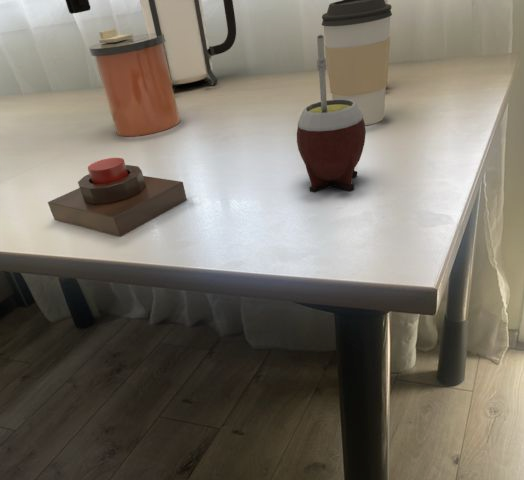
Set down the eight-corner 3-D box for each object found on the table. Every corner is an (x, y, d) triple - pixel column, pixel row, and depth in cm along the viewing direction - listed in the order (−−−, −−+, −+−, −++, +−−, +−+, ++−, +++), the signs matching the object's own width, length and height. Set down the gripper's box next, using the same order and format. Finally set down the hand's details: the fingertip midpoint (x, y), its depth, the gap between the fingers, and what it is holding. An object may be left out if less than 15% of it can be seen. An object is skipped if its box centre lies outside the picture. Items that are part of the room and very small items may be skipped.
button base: (54, 220, 61) (41, 186, 59) (120, 188, 67) (110, 156, 65) (120, 237, 55) (108, 200, 52) (187, 200, 60) (179, 165, 58)
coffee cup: (391, 125, 72) (392, -6, 63) (325, 132, 74) (317, 5, 65) (390, 108, 79) (391, -12, 70) (330, 114, 81) (323, -2, 72)
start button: (85, 184, 59) (80, 168, 57) (113, 171, 61) (108, 156, 60) (107, 188, 56) (102, 171, 55) (136, 175, 59) (131, 159, 58)
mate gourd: (338, 167, 62) (330, 18, 53) (385, 182, 56) (385, 18, 47) (286, 187, 59) (268, 33, 50) (330, 205, 54) (319, 35, 45)
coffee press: (197, 94, 107) (160, -98, 89) (140, 95, 115) (95, -81, 97) (244, 74, 118) (220, -101, 100) (189, 76, 126) (157, -86, 108)
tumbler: (99, 135, 91) (73, 49, 83) (150, 115, 98) (130, 34, 90) (146, 139, 85) (121, 47, 77) (196, 117, 92) (179, 31, 84)
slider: (99, 43, 85) (96, 32, 84) (117, 38, 87) (114, 28, 86) (115, 42, 83) (112, 31, 82) (132, 37, 85) (130, 26, 84)
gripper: (-15, -127, 78) (36, 19, 89) (42, -152, 69) (89, 12, 80) (29, -128, 82) (72, 11, 93) (87, -152, 74) (127, 4, 85)
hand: (80, 11), depth 87 cm, fingers closed
